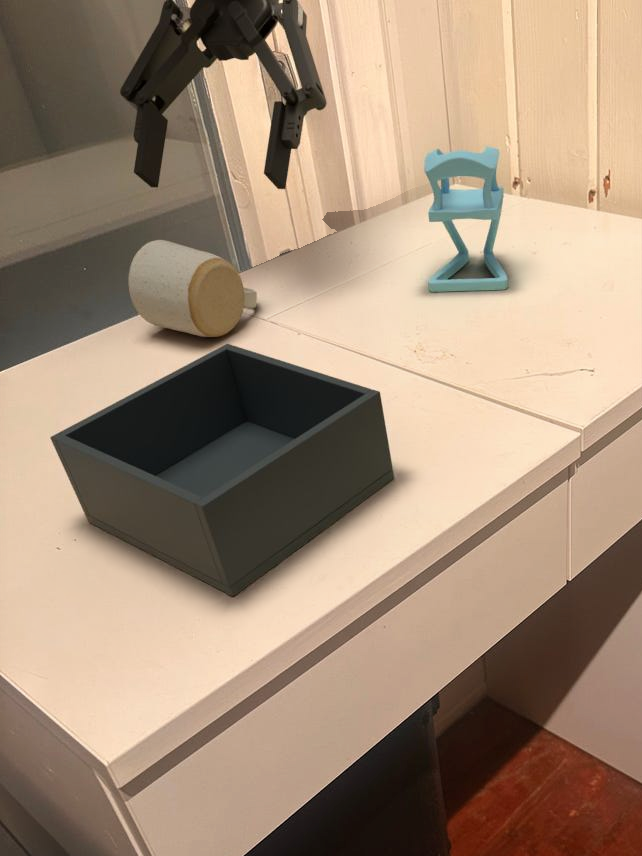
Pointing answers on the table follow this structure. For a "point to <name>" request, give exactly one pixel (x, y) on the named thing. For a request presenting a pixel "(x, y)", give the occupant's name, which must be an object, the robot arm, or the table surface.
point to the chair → (466, 213)
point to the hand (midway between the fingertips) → (208, 181)
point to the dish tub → (228, 463)
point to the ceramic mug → (187, 289)
